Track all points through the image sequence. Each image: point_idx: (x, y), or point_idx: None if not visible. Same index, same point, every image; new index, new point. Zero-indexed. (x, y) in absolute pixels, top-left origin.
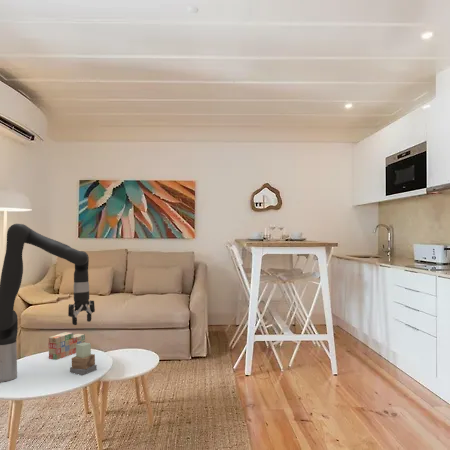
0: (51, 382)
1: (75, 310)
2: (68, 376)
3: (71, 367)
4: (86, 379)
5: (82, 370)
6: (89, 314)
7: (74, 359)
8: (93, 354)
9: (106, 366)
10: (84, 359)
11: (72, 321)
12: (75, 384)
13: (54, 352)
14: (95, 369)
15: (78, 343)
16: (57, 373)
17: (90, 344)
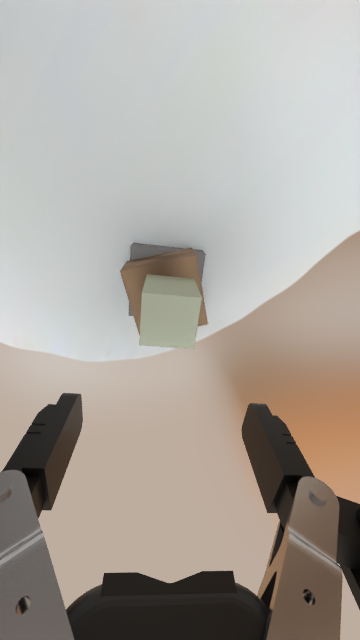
0: (27, 264)
1: (33, 608)
2: (100, 272)
3: (134, 250)
4: (110, 347)
5: (131, 315)
6: (268, 508)
7: (125, 284)
8: (204, 320)
9: (235, 317)
10: (139, 331)
11: (30, 430)
12: (64, 349)
13: None
14: None
15: None
16: (102, 198)
17: (191, 346)
